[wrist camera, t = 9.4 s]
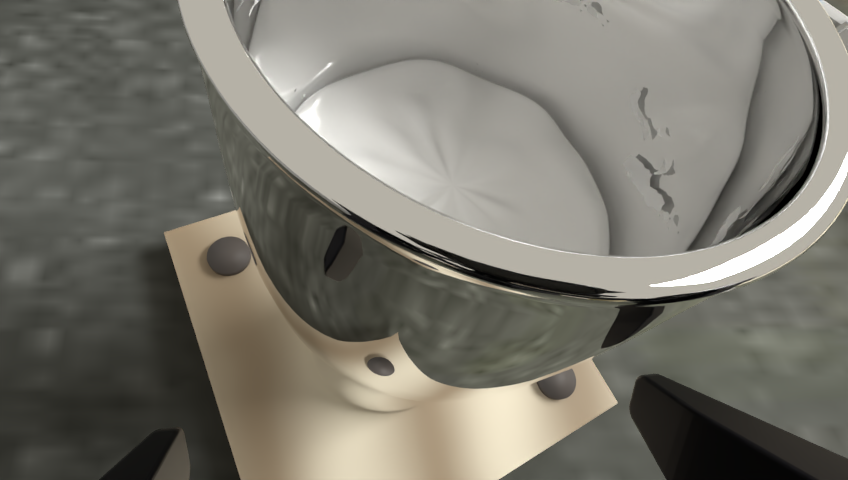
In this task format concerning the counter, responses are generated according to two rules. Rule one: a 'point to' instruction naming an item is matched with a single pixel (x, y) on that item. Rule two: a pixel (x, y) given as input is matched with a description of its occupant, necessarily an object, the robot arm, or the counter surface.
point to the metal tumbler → (515, 172)
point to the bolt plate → (327, 412)
